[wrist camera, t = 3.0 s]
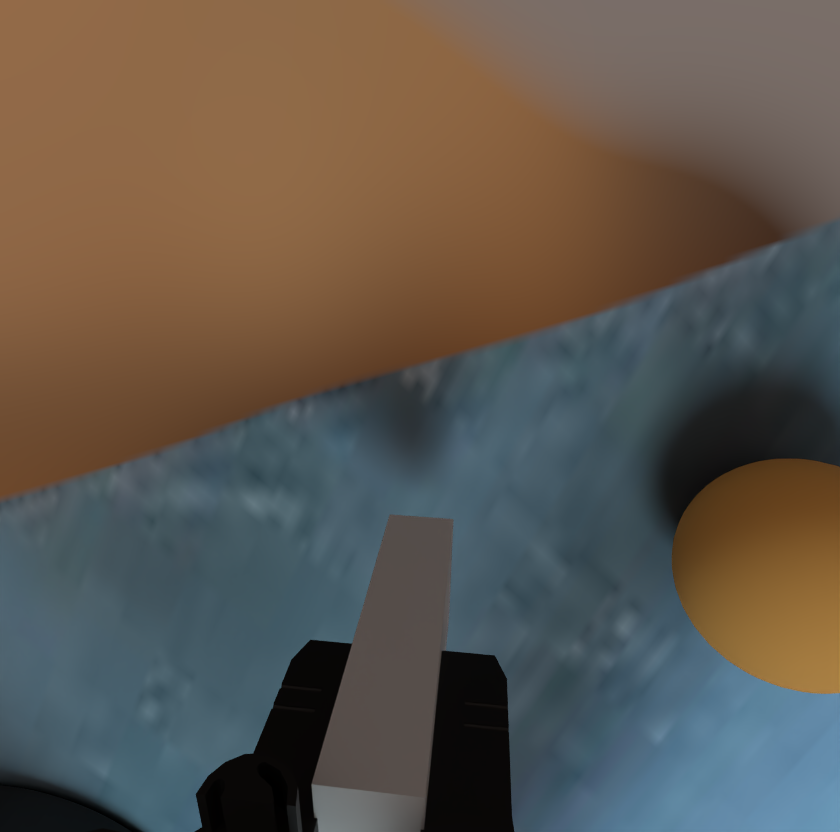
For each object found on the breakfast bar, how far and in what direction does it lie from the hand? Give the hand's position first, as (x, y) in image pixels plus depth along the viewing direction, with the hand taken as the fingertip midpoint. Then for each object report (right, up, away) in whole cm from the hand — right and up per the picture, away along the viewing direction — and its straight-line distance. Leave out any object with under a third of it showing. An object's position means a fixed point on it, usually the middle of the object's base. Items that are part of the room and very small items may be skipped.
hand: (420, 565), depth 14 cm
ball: (+9, 0, 0) cm, 9 cm away
